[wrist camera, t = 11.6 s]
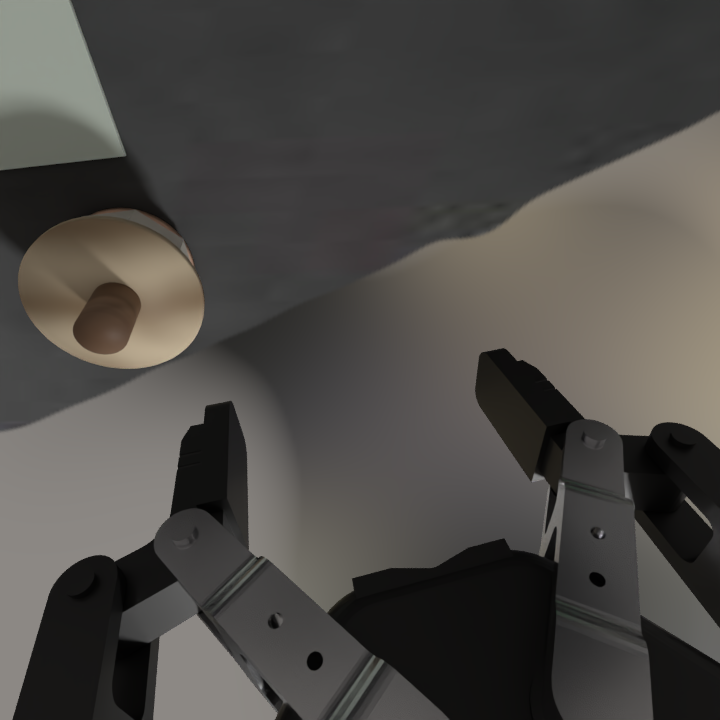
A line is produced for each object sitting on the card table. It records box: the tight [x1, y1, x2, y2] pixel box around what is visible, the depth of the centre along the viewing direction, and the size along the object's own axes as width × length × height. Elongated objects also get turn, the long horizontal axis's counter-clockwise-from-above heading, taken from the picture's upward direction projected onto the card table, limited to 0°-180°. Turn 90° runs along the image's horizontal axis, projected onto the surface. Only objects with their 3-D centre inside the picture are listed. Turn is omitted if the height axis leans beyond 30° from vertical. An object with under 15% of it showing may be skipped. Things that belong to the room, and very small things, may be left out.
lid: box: [18, 216, 205, 369], centre depth 30 cm, size 12×12×6 cm
